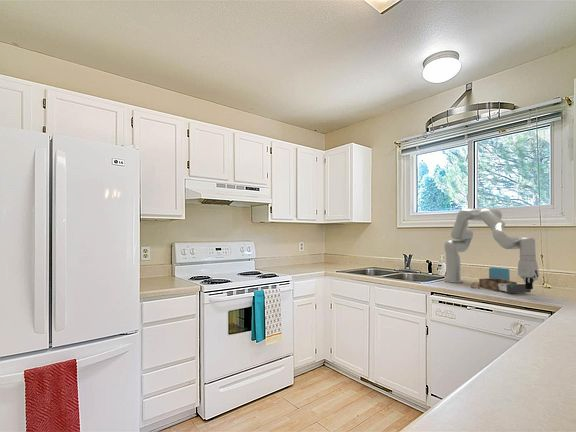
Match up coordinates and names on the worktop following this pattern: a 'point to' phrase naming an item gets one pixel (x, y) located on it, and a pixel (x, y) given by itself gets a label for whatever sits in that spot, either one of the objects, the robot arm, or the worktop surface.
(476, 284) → the stand
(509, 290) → the tray
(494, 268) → the data package
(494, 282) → the dock
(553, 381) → the worktop surface
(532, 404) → the worktop surface
